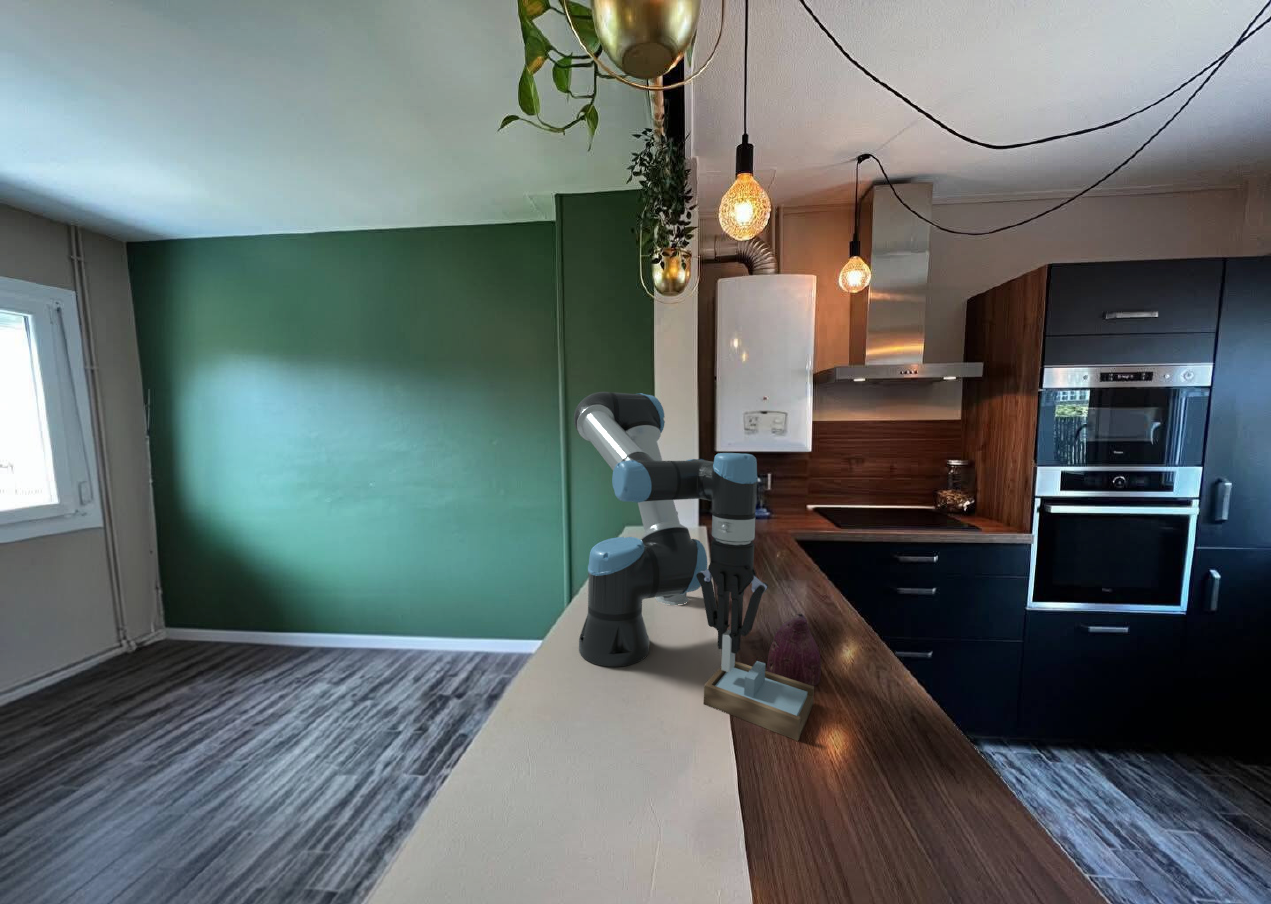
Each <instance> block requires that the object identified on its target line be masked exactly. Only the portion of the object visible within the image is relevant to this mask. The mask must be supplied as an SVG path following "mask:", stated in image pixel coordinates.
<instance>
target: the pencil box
mask: <svg viewBox="0 0 1271 904" xmlns="http://www.w3.org/2000/svg"><path fill="white" fill-rule="evenodd" d="M752 667H753V665H752V666H751V665H749V664H746V663H742V662H739V661H736V660H735V666H734V668H737V669H740V670H743V671H746V672H749V671H750V669H751V668H752ZM725 673H726V671H723V670H721V666H720V667H719V668H718V669H717V670H716V671H715V672H714V674H713V675H712V676H711V677H710V678H709V679H708V681H707V682H706V683H704V686H703V705H705V706H708V707H710V708H712V707H713V709H715V708H716V709H715V710H718V709H719V710H718V711H720V710H722V711H721V712H723V711H724V712H723V713H725V712H726V714H727V715H731V716H733V717H736V718H738V719H741V720H743V721H746V722H748V723H751V724H754V725H756V726H759V727H761V728H764V729H766V730H769V731H771V732H774V733H776V734H778V735H781V736H784V737H786V738H789V739H792V740H794V741H797V742H798V741H799V740H800V737H801V735H802V733H803V731H804V728H805V726H806V723H807V722H808V719H809V716H810V713H811V711H812V709H813V707H814V696H815V685H814V686H811V685H808V684H805V683H802V682H799V681H795V680H792V679H789V678H786V677H783V676H780V675H777V674H774V673H771V672H768V671H767V670H765V678H767V679H770V680H773V681H776V682H779V683H782V684H785V685H788V686H791V687H794V688H797V689H801V690H804V691H807V692H808V693H807V698H806V700H805V702H804V705H803V707H802V709H801V711H800V713H799V716H796V715H794V714H791V713H788V712H785V711H783V710H780V709H777V708H774V707H772V706H769V705H766V704H763V703H761V702H758V701H755V700H752V699H750V698H747V697H744V696H741V695H739V694H736V693H733V692H730V691H728V690H725V689H722V688H719V687H717V686H715V685H716V684H717V683H718V681H719V680H720V679H721V678H722V677H723V675H724V674H725Z"/></svg>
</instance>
